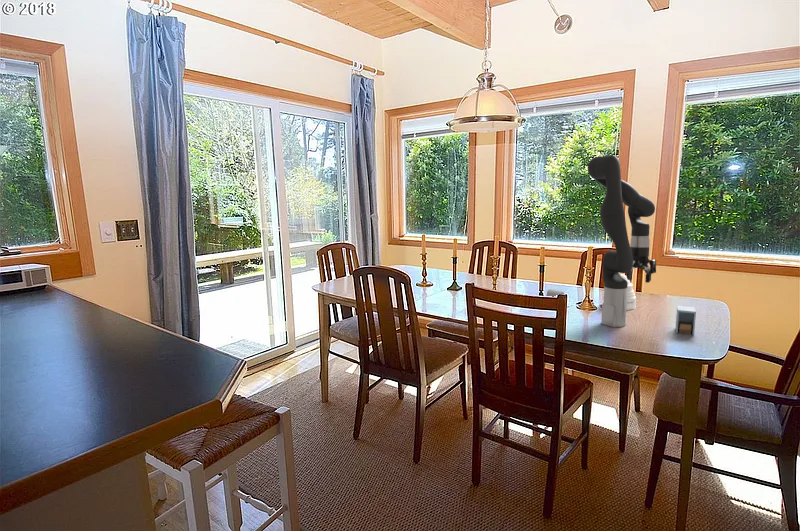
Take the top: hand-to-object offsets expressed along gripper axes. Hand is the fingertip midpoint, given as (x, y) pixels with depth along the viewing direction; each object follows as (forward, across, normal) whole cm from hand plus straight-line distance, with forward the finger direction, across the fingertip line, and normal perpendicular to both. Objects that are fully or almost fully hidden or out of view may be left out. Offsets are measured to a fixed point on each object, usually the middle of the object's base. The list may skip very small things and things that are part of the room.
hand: (638, 281), depth 194 cm
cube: (+19, +21, 0) cm, 28 cm away
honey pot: (+18, -18, +14) cm, 29 cm away
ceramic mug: (+17, -42, -6) cm, 46 cm away
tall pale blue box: (+19, +21, 0) cm, 28 cm away
